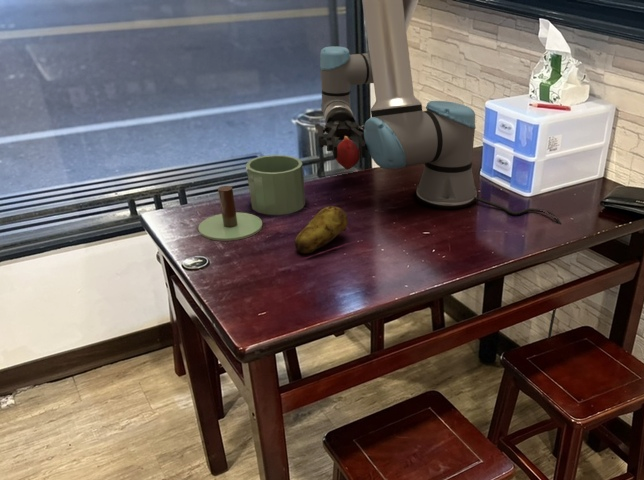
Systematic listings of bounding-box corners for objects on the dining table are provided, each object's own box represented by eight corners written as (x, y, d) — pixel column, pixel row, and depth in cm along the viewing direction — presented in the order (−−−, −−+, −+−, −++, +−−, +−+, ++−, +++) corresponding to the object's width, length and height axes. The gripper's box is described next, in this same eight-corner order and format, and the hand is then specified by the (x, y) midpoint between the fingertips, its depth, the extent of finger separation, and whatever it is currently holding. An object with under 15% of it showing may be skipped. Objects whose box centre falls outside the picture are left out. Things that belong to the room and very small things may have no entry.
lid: (274, 232, 136) (269, 190, 131) (217, 249, 128) (209, 206, 123) (244, 212, 144) (238, 172, 139) (188, 227, 137) (180, 186, 131)
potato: (285, 244, 131) (282, 210, 127) (340, 232, 137) (338, 198, 133) (301, 261, 125) (298, 225, 121) (357, 247, 131) (356, 212, 127)
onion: (362, 166, 149) (361, 133, 145) (357, 174, 144) (356, 141, 140) (338, 164, 149) (337, 131, 145) (333, 172, 145) (331, 139, 140)
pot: (315, 208, 148) (312, 165, 142) (269, 221, 141) (264, 177, 135) (287, 192, 155) (283, 151, 150) (242, 204, 148) (236, 162, 142)
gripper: (375, 135, 162) (390, 167, 143) (304, 136, 158) (308, 169, 140) (375, 106, 158) (390, 135, 139) (302, 106, 154) (307, 136, 135)
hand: (349, 152), depth 139 cm, fingers closed on onion, 6 cm apart
